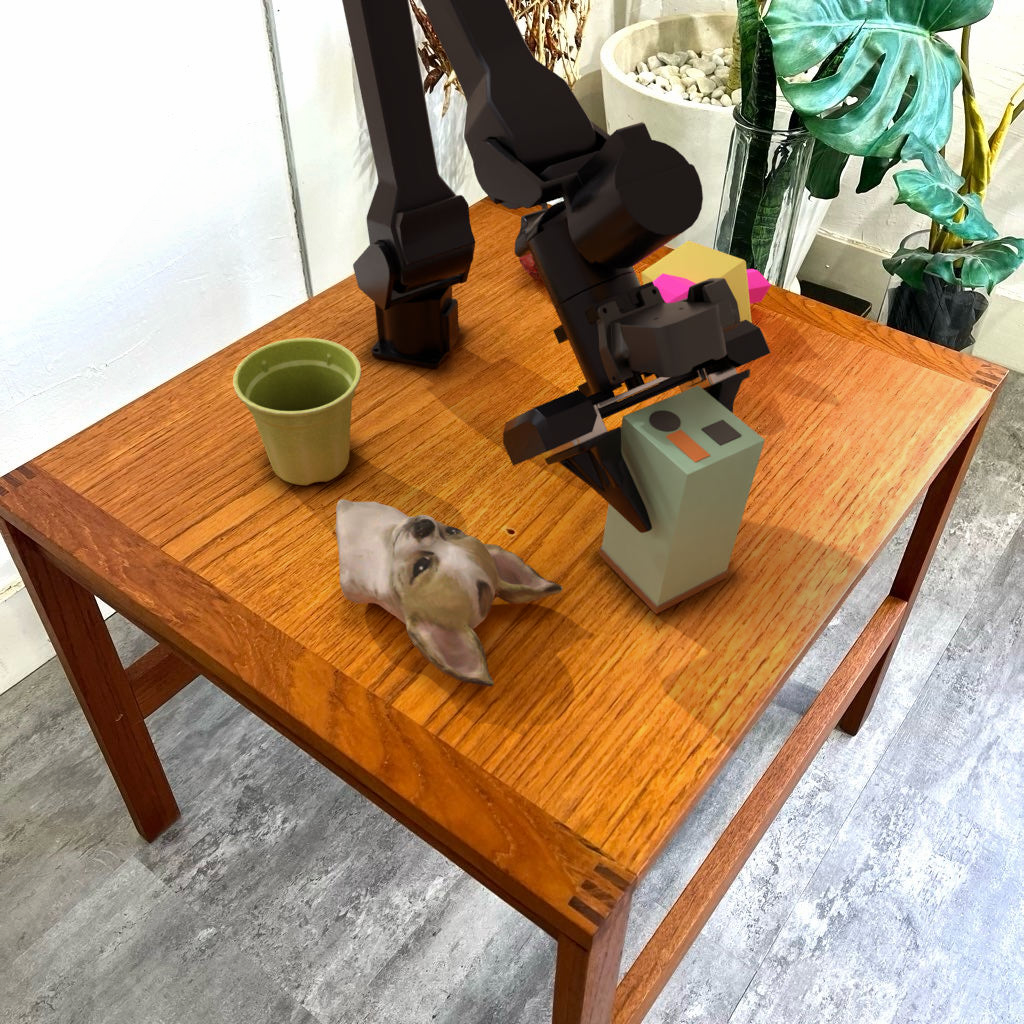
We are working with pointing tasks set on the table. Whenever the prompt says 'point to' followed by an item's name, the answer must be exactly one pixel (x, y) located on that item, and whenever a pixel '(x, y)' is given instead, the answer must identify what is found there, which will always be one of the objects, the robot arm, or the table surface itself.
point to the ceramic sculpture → (431, 581)
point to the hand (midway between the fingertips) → (689, 510)
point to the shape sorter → (682, 496)
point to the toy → (706, 275)
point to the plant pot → (301, 405)
